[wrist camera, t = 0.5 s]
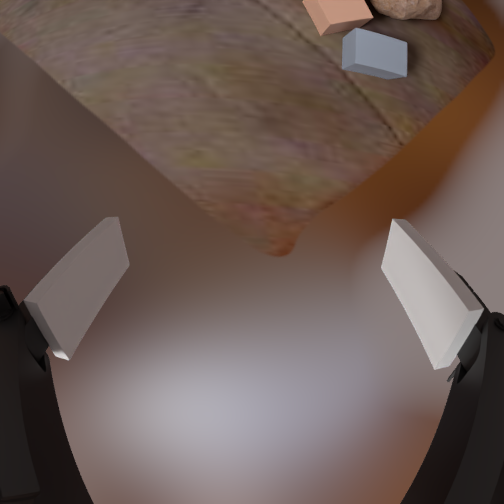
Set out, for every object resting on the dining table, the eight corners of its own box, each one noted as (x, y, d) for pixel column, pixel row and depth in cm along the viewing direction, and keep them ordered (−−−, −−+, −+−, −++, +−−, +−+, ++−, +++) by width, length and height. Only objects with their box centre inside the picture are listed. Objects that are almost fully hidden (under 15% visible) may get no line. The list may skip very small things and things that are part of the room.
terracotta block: (302, 2, 25) (308, -14, 19) (340, -5, 23) (352, -20, 18) (320, 36, 27) (330, 24, 22) (358, 28, 26) (373, 17, 21)
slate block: (342, 38, 27) (355, 27, 22) (388, 49, 27) (407, 42, 22) (341, 69, 30) (355, 63, 24) (387, 79, 29) (406, 76, 24)
